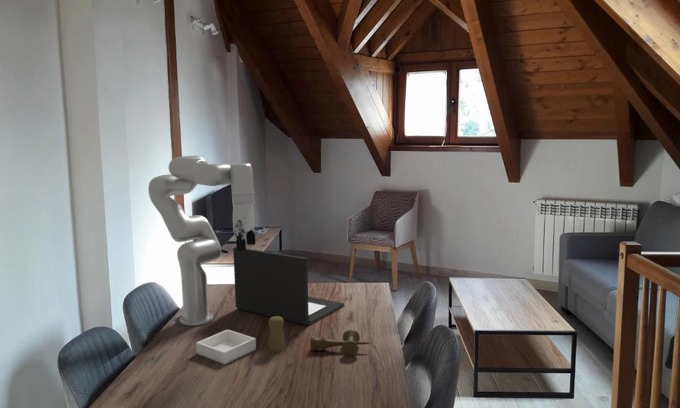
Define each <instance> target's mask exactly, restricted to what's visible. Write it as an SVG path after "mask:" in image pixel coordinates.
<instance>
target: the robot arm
mask: <svg viewBox="0 0 680 408" xmlns="http://www.w3.org/2000/svg"><path fill="white" fill-rule="evenodd" d="M168 171H169V174H164V175H163V174H162V175H158V176H155V177H153V178H152V179H150V181H149V184H148V195H149V196H148V197H149V198H150V201H151V203H152V204H153V206H154V208H155V209H156V210H157V211H158V213H159V214H160V216H161V218H162V220H163V222H164V224H165V226H166V228H167V231H168V232H169V234H170V236H171V238H172V239H173V241H175V242H177V243H183V244H182V245H179V247H178V249H177V253H176V257H177V260H178V264H179V269H180V278H181V279H180V280H181V291H182V292H181V294H182V307H181V308H179V310H178V311H179V312H180V313H182V316H180V318H179V323H180V324H181V325H184V326H189V327H191V326H193V327H194V326H201V325H205V324H208V323H210V322H212V320H213V319H214V316H213V314H212V313H210V312H209V298H208V297H209V296H208V280H207V279H208V277H207V272H206V271H205V270H204V268H203V267H202V265H204V264H207V263H210V262H214V261H217V260H218V259H220V257H221V255H222V246H221V244H220V241H219V239H218V237H217V235H216V233H215V231H214V230H213V228H212V225H211V223H210V221H209V220H208V219H207V218H206V217H205V216H203V215H200V214H195V215H187V213H186V212H185V211H184V208H183V206H182V205H181V204H180V203H179V202H178V201H177V200H175V199H174V198H173V196H180V195H186V194H189V193H191V192H192V191H194V190H195V188H196V187H197V186H198V185H202V186H207V187H208V186H209V187H217V186H223V185H230V186H231V187H230V189H231V201H232V202H231V203H232V231H233V234H234V235H235V237H234V238H235V243H236V244H235V245H236V246H235V247H237V251H245V250H246V249H247V245H248V246H252V245H253V246H255V245H256V244H257V243H256V242H257V241H256V217H255V210H254V209H255V208H254V203H255V193H254V192H255V189H254V177H253V176H254V175H253V174H254V173H253V167H252V165H251V163H248V162H247V163H237V162H224V163H211V164H209V163H208V161H207V160H206V159H204V157H202V156H199V155H184V156H177V157H174V158H173V159H172V160H171V161H170V162H169V164H168ZM245 236H246V237H245Z"/></svg>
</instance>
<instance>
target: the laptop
mask: <svg viewBox="0 0 680 408" xmlns="http://www.w3.org/2000/svg"><path fill="white" fill-rule="evenodd" d="M232 251H233V271H234V272H233V273H234V274H233V276H234V298H235V308H237V310H241V311H246V312H251V313H253V314H258V315H263V316H267V317H270V318H271V317H274V316H280V317H282V318H283V320H284V321H288V322H292V323H296V324H299V325H300V324H301V325H304V326H311V325H313V324H315V323H317V322H319V321H320V320H322V319H324V318H326V317H328V316H330V315H332V314H333V313H334V312H335V313H336V311H338V310H340V309H342V308H344V307H345V303H343V302H339V301H333V300H330V299H325V298H318V297H314V296H309V279H308V278H309V273H308V270H309V269H308V267H309V266H308V257H304V256H298V255H297V256H296V255H290V254H284V253H277V252H270V251H264V250H259V249H253V248H252V249H251V248H246V250H245V251H237V247H236V246H235V247H233V249H232Z"/></svg>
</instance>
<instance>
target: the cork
mask: <svg viewBox="0 0 680 408" xmlns="http://www.w3.org/2000/svg"><path fill="white" fill-rule="evenodd" d="M284 324H285V320H283V318H282V317H280V316H274V317H270V318H269V319H268V326H269V338H268V345H267V350H268V351H270V352H273V353H278V352H282V351H284V350H285V349H286V341H285V335H284V329H283V326H284Z"/></svg>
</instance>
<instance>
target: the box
mask: <svg viewBox="0 0 680 408" xmlns="http://www.w3.org/2000/svg"><path fill="white" fill-rule="evenodd" d="M195 346H196V347H195V348H196V354H197V355H200V356H201V357H204V358H207V359H209V360H212V361H215V362H217V363H220V364H223V365H227V364H229V363H231V362H234V361H235V360H237V359H239V358H241V357H243V356H245V355H248V354H250V353H252V352H254V351H256V350H257V338H256V337H253V336H250V335H247V334H244V333H240V332H238V331H233V330H231V329H225V330H223V331H221V332H218V333H215V334H213V335H211V336H208V337H206V338H203V339H202V340H199V341H197V342H196V343H195Z"/></svg>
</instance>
